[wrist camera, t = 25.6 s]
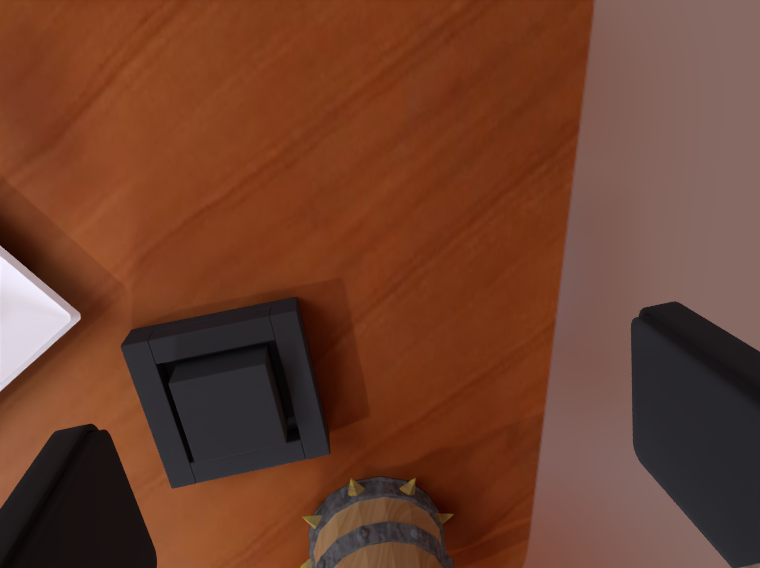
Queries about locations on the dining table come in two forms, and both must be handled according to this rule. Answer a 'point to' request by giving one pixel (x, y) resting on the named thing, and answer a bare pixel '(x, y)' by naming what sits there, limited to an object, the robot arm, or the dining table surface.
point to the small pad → (230, 403)
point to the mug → (378, 528)
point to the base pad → (216, 335)
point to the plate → (27, 317)
